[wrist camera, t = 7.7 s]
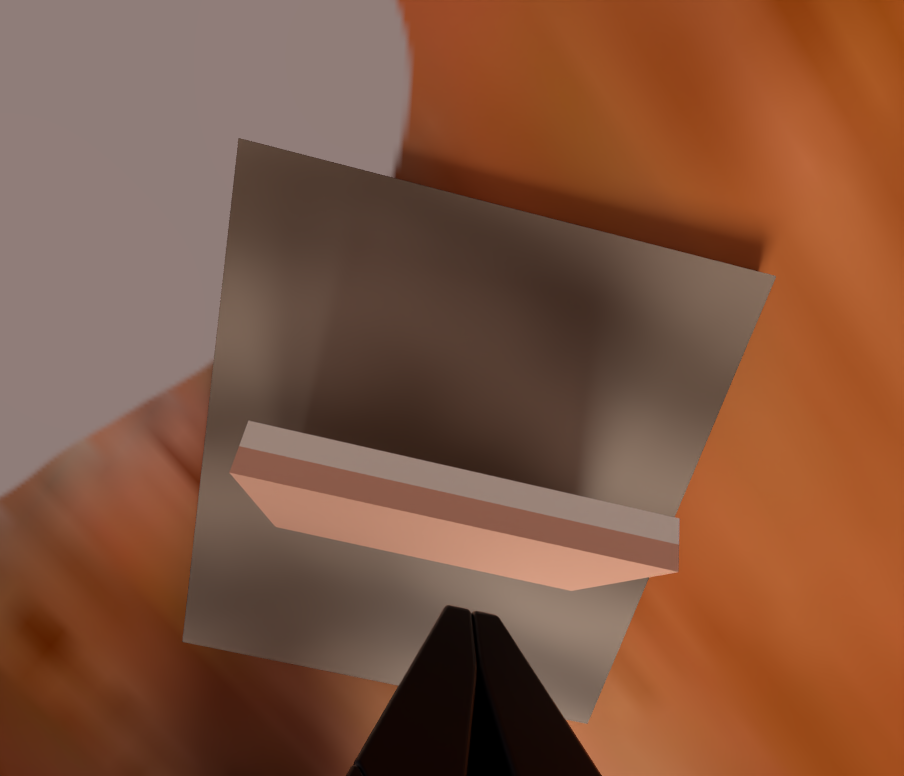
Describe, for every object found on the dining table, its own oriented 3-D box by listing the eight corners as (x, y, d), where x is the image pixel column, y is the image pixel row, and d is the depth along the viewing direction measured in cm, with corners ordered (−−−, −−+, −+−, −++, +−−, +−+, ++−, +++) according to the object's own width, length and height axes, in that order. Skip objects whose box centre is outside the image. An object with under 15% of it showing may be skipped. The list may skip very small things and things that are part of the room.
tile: (678, 572, 12) (679, 518, 13) (229, 472, 12) (248, 420, 12) (571, 591, 19) (574, 554, 19) (275, 527, 18) (286, 491, 19)
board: (582, 702, 23) (587, 723, 22) (194, 622, 22) (182, 641, 21) (758, 272, 18) (776, 276, 17) (251, 141, 17) (238, 138, 16)
